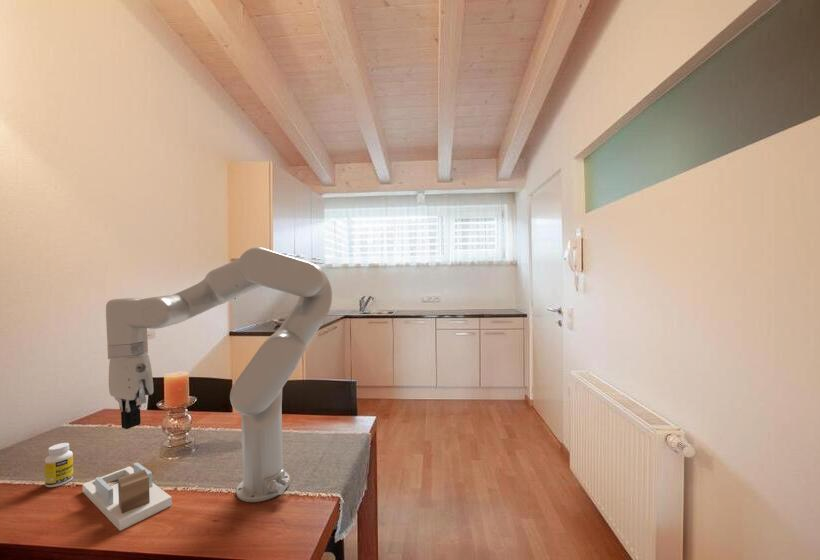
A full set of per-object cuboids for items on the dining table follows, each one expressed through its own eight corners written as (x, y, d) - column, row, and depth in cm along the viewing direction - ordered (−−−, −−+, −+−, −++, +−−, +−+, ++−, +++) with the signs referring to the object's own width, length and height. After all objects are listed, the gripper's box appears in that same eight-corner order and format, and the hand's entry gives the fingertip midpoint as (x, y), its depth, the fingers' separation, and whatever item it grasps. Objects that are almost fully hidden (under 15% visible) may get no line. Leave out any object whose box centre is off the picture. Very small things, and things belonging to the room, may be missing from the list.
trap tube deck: (172, 505, 84) (171, 482, 84) (119, 530, 76) (119, 505, 75) (130, 473, 98) (129, 453, 98) (82, 491, 90) (82, 470, 90)
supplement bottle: (55, 489, 92) (54, 451, 92) (39, 487, 93) (38, 450, 93) (79, 477, 97) (77, 442, 97) (63, 475, 98) (62, 440, 98)
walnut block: (149, 502, 82) (148, 477, 82) (122, 513, 78) (121, 486, 78) (145, 493, 85) (144, 469, 85) (118, 503, 82) (117, 478, 82)
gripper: (164, 348, 84) (167, 424, 84) (128, 345, 90) (130, 416, 91) (128, 355, 77) (131, 438, 78) (92, 351, 84) (95, 428, 84)
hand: (131, 426), depth 84 cm, fingers closed
